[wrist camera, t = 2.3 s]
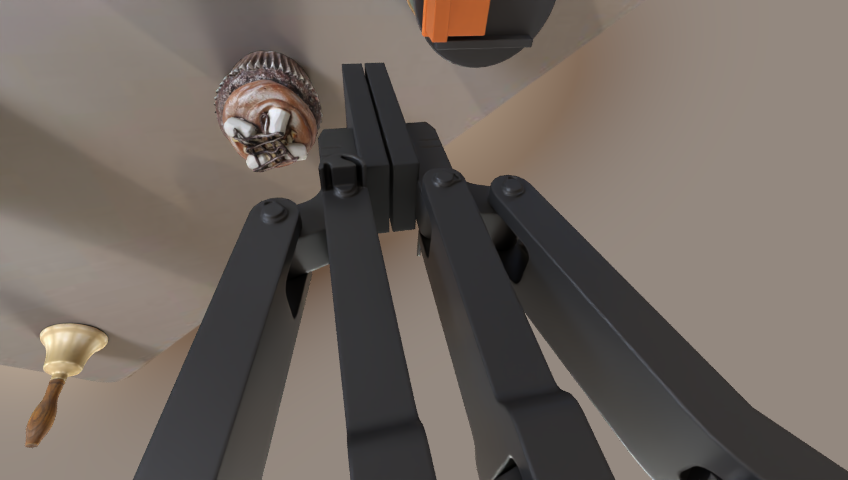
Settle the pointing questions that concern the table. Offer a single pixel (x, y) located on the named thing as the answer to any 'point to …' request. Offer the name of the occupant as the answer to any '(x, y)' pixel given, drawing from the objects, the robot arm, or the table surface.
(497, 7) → the mug lid
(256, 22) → the table surface
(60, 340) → the hand bell
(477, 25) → the slider
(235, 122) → the cupcake
